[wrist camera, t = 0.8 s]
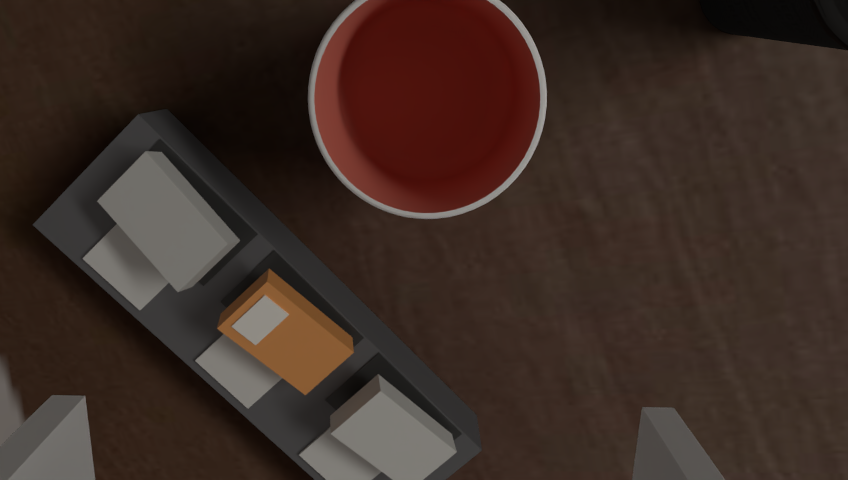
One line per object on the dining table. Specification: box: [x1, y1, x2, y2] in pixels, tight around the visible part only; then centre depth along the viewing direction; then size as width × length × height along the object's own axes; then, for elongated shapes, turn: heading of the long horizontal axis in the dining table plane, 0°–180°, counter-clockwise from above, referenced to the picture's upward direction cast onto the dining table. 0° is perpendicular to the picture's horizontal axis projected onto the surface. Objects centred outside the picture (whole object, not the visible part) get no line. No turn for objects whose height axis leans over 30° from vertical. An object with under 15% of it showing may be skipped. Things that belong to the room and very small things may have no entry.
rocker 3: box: [330, 374, 457, 480], centre depth 37 cm, size 6×4×2 cm, turn 43°
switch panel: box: [33, 109, 482, 480], centre depth 39 cm, size 26×8×4 cm, turn 43°
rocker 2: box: [217, 269, 354, 395], centre depth 35 cm, size 6×4×2 cm, turn 43°
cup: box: [308, 0, 547, 219], centre depth 33 cm, size 10×10×10 cm
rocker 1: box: [97, 151, 240, 292], centre depth 34 cm, size 6×4×2 cm, turn 42°
